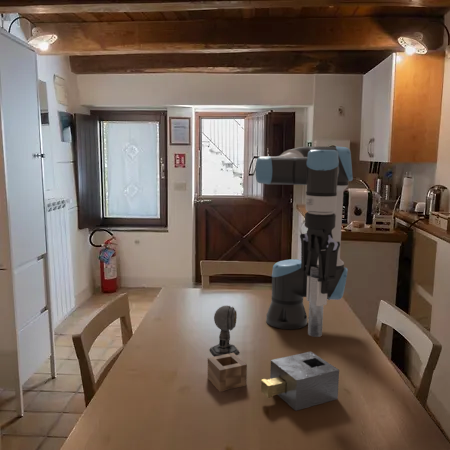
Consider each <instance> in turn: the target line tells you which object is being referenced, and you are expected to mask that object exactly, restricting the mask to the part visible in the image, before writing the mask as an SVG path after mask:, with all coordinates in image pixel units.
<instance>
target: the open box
mask: <svg viewBox="0 0 450 450" xmlns="http://www.w3.org/2000/svg"><path fill="white" fill-rule="evenodd" d="M247 369H248V365H247V363H246V362H244V360H242V359H241V358H240V357H239V356H238V354H237V355H235V354H234V353H230V354H225V355H220V356H215V357H214V356H210V357H207V379H208V381H210V383H211V384H212V385H213V386H214V387H215V388H216V389H217V390H218V392H224V391H227V390H233V389H237V388H240V387H245V386H247V378H248V377H247V373H248V370H247Z"/></svg>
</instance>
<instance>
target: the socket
mask: <svg viewBox="0 0 450 450" xmlns="http://www.w3.org/2000/svg"><path fill="white" fill-rule="evenodd" d="M277 377H281V378H283V379H284V380H285V381H286V382H287V389H286V392H285V393H281V394H277V396H278V397H279V398H280V399H281V400H283V401H284V402H285V403H286V404H287V405H288V406H289V407H291V409H292V410H294V411H295V412H296V411H301V410H303V409H307V408H310V407H314V406H317V405H321V404H322V405H323V404H325V403H328V402H332V401H336V400H338V398H339V397H338V396H339V381H340V380H339V378H340V369H338V368H337V367H336V366H334V365H333V364H331V363H329V362H328V361H326V360H324V358H321V357H320V356H318V355H317V353H314V352H313V351H311V350H310V351H307V352H303V353H297V354H293V355H289V356H283V357H278V358H274V359H270V375H269V379H272V378H277Z"/></svg>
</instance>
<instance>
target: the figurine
mask: <svg viewBox="0 0 450 450" xmlns="http://www.w3.org/2000/svg"><path fill="white" fill-rule="evenodd" d="M213 315H214V316H213V319H214V320H213V321H214V324H215V326H216V327H217V328H218V329H219V330H220V332H219V336H218V339H219V343H218V344H216V345H214V346H211V347H210V348H209V352H210V354H211V355H212V357H215V356H220V355H225V354H230V353H234V354H235V355H237V356H238V354H240V351H239V349H238V348H237V347H236V346H235V344H231V343H230V340H231V334H230V331H233V330H234V328H235V327H236V324H237V318H238V317H237V310H236V309H235V307H233V306H232V307H231V305H222V306H220V307H218V308H217V310H216V311H215V312H214V314H213Z"/></svg>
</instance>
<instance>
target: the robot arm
mask: <svg viewBox="0 0 450 450" xmlns="http://www.w3.org/2000/svg"><path fill="white" fill-rule="evenodd" d="M351 153H352V151H351V149H350V148H349V147H346V146H338V145H336V146H299V147H296V148H292V149H287V150H285V151H283V152H282V153H281V154H280V155H277V156H270V155H267V156H258V158H257V159H256V161H255V168H254V169H255V171H254V172H255V173H254V174H255V180H256V182H257V183H258V184H261V185H263V184H264V185H294V186H295V185H298V186H306V188H305V189H306V191H305V211H306V212H305V214H304V227H305V228H306V229H307V231H306V233H300V235H299V238H300V243H301V244H300V245H301V248H300V249H301V251H300V252H301V254H300V256H301V257H300V259H299V258H298V259H296V258H294V259H293V258H292V259H284V260H280V261H277V262H276V263H274V264H273V265H272V273H271V302H270V304H269V307H268V310H267V313H266V316H265V317H266V318H265V319H266V324H267V325H268V326H271V327H273V328H277V329H280V330H281V329H282V330H299V329H302V328H304V327H306V326H307V325H308V315H307V312H306V309H305V305H304V298H306V299H305V301H307V302H309V297H310V269H311V266H312V265H319V275H320V279H317V301H316V305H317V306H322V305H323V306H327V304H328V301H329V300H335V301H336V300H339V301H340V300H342V298H343V296H344V294H345V287H346V283H347V277H348V271H349V269H348V267H345V261H343V260H342V259H341V242H342V224H343V223H342V222H343V221H342V220H343V207H344V206H343V204H344V192H345V190H346V189H347V188H349V182H352V181H353V179H354V177H353V166H352V164H353V163H352V154H351ZM324 275H325V276H324Z"/></svg>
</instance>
